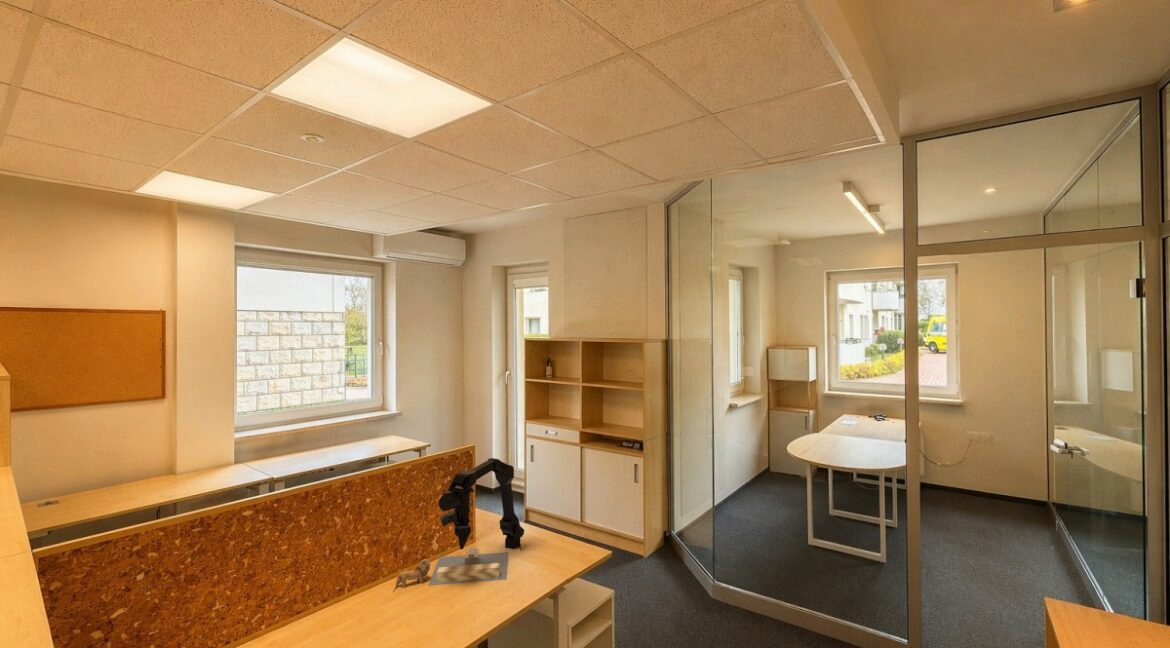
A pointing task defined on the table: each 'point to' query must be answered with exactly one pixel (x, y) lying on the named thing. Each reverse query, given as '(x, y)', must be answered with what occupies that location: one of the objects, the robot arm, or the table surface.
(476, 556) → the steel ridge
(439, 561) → the base board
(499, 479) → the robot arm
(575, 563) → the table surface
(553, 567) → the table surface
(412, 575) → the lion figurine
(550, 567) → the table surface
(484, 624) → the table surface
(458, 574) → the beech batten
